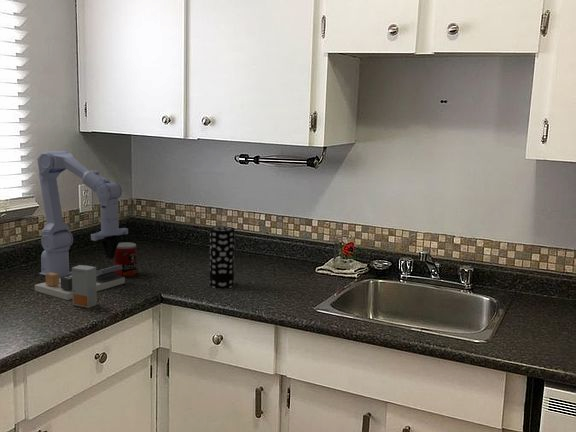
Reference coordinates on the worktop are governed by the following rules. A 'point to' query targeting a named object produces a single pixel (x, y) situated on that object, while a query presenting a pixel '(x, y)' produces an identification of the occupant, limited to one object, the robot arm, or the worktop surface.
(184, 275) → the worktop surface
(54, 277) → the orange fader knob
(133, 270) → the canned food
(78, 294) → the skincare box
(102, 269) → the rocker
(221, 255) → the white-spotted black cylinder
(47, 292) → the panel
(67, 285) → the black fader knob
